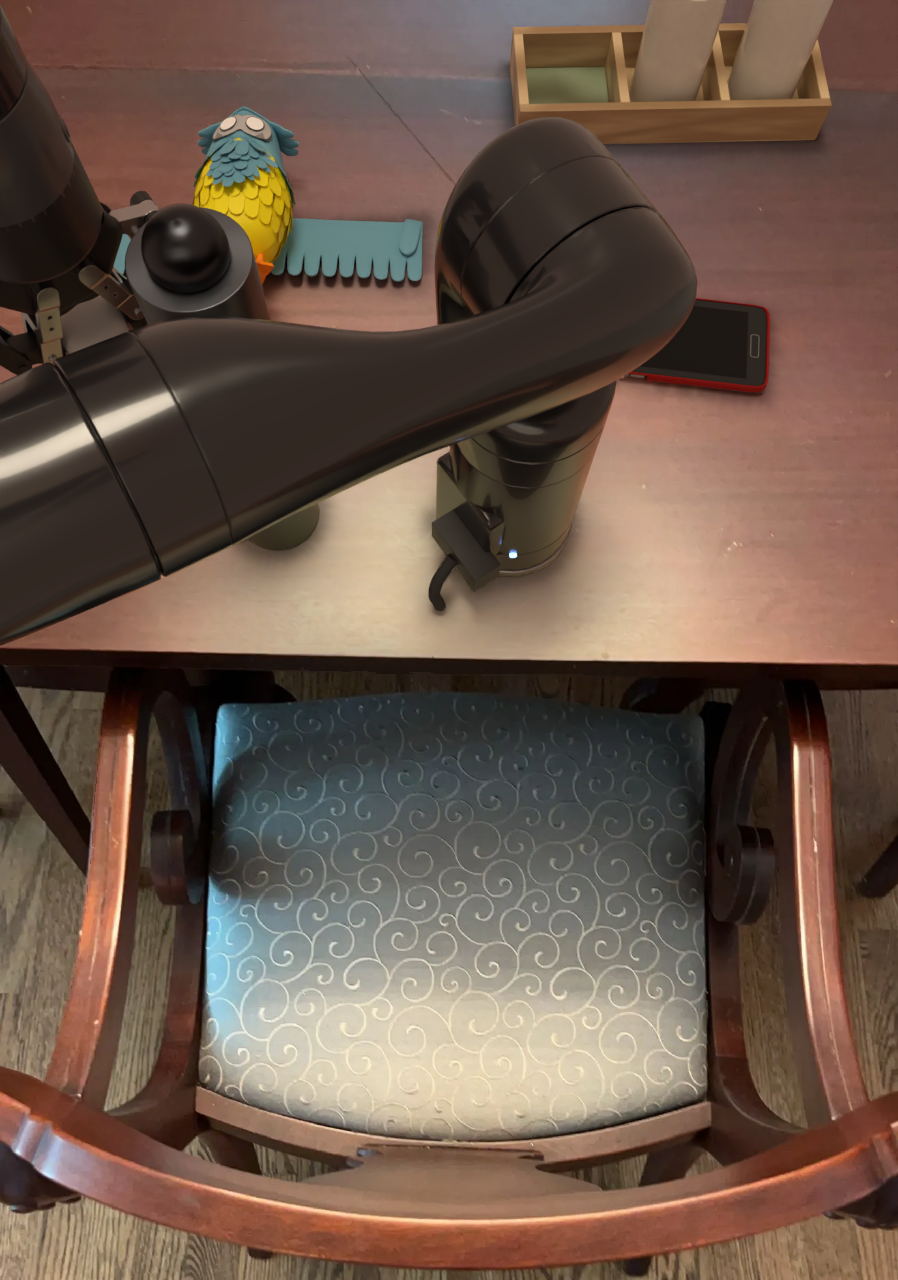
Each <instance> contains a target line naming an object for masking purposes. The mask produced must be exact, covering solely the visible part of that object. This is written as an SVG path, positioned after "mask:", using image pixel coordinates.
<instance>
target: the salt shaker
mask: <svg viewBox="0 0 898 1280" xmlns="http://www.w3.org/2000/svg"><path fill="white" fill-rule="evenodd" d="M60 318H61V325H62V332H63V338H62V339H61V346H62V348H63V349H64V351H65V352H66V354H67V355H68V354H70V353H73V352H75V351H78V350H81V349H83V348H86V347H88V346H91V345H94V344H96V343H99V342H101V341H104V340H107V339H109V338H112V337H114V336H117V335H120V334H122V333H125V332H128V331H129V325H128V322H127V319H126V317H125V316H124V314H123V312H122V311H121V310H120V309H119V308H117V309H116V308H115V307H113V306H112V305H111V304H110V303H108V302H107V301H106V300H105V299H104V298H102V297H101V296H98V297H96V298H94V299H92V300H90V301H86V302H83V303H80V304H78V305H76V306H75V307H74V308H73V309H72V310H70V311H69V312H68V313H66V314H64V315H62V316H61V317H60Z"/></svg>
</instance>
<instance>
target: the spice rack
mask: <svg viewBox="0 0 898 1280" xmlns="http://www.w3.org/2000/svg"><path fill="white" fill-rule="evenodd" d="M746 24H747V22H732V23H731V22H727V23H725V22H724V23H720V25H719V29H718V32H717V35H716V38H715V41H714V44H713V48H712V51H711V54H710V57H709V60H708V63H707V67H706V70H705V73H704V76H703V79H702V83H701V86H700V89H699V92H698V95H697V98H696V101H664V102H630V98H629V90H630V85H631V81H632V77H633V73H634V68H635V64H636V60H637V55H638V51H639V47H640V43H641V38H642V34H643V30H644V25H645V24H616V25H615V24H613V25H612V24H610V25H553V26H549V25H548V26H546V25H545V26H513V27H512V34H511V42H510V43H511V44H510V56H509V71H510V83H511V84H510V86H511V94H512V96H511V97H512V107H513V120H514V121H513V122H514V126H515V125H518V124H520V123H523V122H525V121H528V120H532V119H536V118H543V117H560V118H565V119H569V120H572V121H574V122H577V123H579V124H581V125H583V126H584V127H586V128H587V129H589V130H590V131H591V132H592V133H593V134H594V135H595V136H596V137H597V138H598V139H599V140H600V141H601V142H602V143H603V145H628V144H632V145H633V144H672V143H675V144H676V143H678V144H679V143H720V142H721V143H722V142H723V143H725V142H726V143H727V142H728V143H729V142H769V141H770V142H771V141H772V142H773V141H774V142H775V141H776V142H777V141H815V140H817V137H818V135H819V133H820V131H821V130H822V128H823V125H824V123H825V121H826V119H827V117H828V115H829V113H830V110H831V109H832V107H833V105H832V99H831V95H830V91H829V86H828V81H827V78H826V71H825V67H824V63H823V57H822V53H821V48H820V43H819V40H818V39H819V38H818V39H817V41H816V44H815V46H814V48H813V51H812V53H811V55H810V58H809V60H808V62H807V65H806V67H805V69H804V72H803V74H802V76H801V79H800V81H799V83H798V86H797V88H796V90H795V93H794V95H793V97H792V99H768V100H730V95H729V89H728V83H727V79H728V76H729V73H730V71H731V68H732V65H733V62H734V59H735V56H736V53H737V50H738V47H739V44H740V41H741V39H742V36H743V33H744V30H745V27H746Z"/></svg>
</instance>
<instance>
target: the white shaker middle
mask: <svg viewBox="0 0 898 1280" xmlns="http://www.w3.org/2000/svg"><path fill="white" fill-rule="evenodd" d="M727 3H728V0H649V4H648V9H647V13H646V16H645V17H646V18H645V22H644V24H643V25H644V30H643V34H642V38H641V43H640V47H639V51H638V55H637V60H636V64H635V68H634V73H633V77H632V81H631V85H630V90H629V98H630V102H664V101H696V98H697V95H698V92H699V89H700V86H701V83H702V79H703V76H704V73H705V70H706V67H707V63H708V60H709V57H710V54H711V51H712V48H713V44H714V41H715V38H716V35H717V32H718V29H719V25H720V24H721V21H722V19H723V16H724V13H725V10H726V6H727Z"/></svg>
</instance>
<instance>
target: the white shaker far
mask: <svg viewBox="0 0 898 1280" xmlns="http://www.w3.org/2000/svg"><path fill="white" fill-rule="evenodd" d="M834 1H835V0H754V1H753V3H752V7H751V9H750V13H749V15H748V18H747V21H746V23H747V24H746V27H745V30H744V33H743V36H742V39H741V41H740V44H739V47H738V50H737V53H736V56H735V59H734V62H733V65H732V68H731V71H730V73H729V76H728V79H727V83H728V89H729V95H730V100H768V99H792V97H793V95H794V93H795V90H796V88H797V86H798V83H799V81H800V79H801V76H802V74H803V72H804V69H805V67H806V65H807V62H808V60H809V58H810V55H811V53H812V51H813V48H814V46H815V44H816V41H817V39H819V37H820V34H821V32H822V30H823V28H824V26H825V23H826V20H827V18H828V15H829V13H830V11H831V9H832V6H833V4H834Z"/></svg>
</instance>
